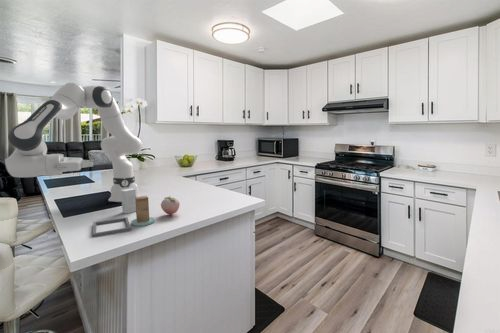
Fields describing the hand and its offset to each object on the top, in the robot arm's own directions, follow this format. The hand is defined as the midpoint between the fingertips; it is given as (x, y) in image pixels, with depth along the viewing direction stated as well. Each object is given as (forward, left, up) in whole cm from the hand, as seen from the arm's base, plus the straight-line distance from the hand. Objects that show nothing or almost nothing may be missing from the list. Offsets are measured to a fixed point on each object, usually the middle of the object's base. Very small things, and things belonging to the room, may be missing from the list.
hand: (93, 163), depth 119 cm
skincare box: (-11, +14, -28) cm, 33 cm away
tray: (+10, +5, -28) cm, 30 cm away
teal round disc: (+10, +18, -28) cm, 35 cm away
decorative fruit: (+5, +32, -28) cm, 43 cm away
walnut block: (+10, +18, -27) cm, 34 cm away
